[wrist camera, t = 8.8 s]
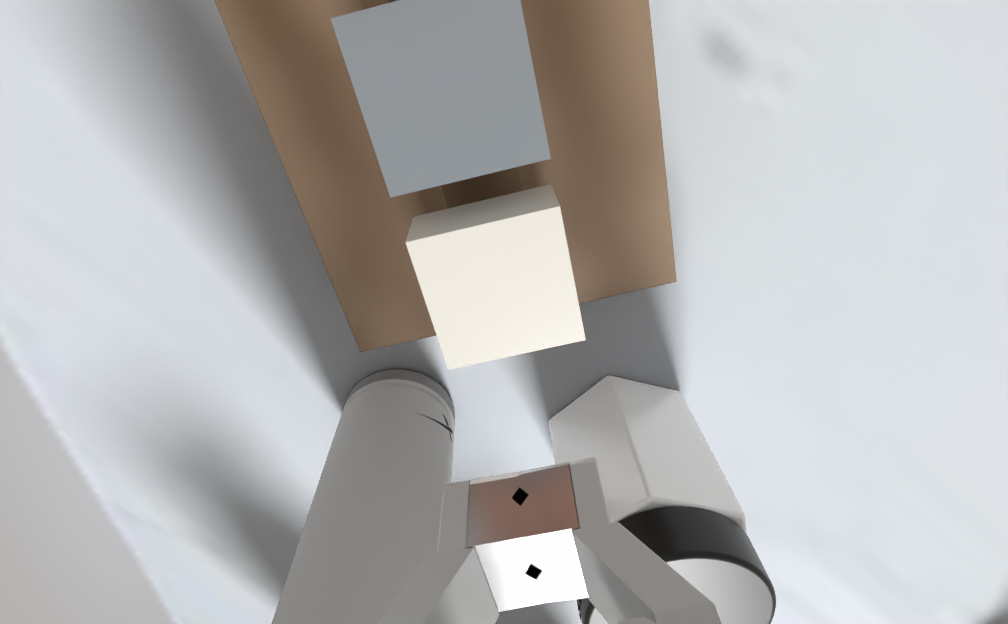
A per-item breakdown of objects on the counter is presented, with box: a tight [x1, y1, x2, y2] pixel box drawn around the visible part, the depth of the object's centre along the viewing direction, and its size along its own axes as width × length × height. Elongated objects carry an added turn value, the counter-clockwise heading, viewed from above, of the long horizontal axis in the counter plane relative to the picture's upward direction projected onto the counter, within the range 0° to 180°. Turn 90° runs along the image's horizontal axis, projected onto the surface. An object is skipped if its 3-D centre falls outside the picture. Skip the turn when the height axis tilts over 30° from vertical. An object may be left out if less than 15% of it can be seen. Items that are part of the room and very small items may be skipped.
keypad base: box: [215, 0, 676, 352], centre depth 23 cm, size 14×20×5 cm
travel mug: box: [272, 369, 455, 624], centre depth 24 cm, size 6×7×20 cm
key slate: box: [331, 0, 551, 198], centre depth 20 cm, size 5×5×8 cm
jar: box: [549, 376, 776, 624], centre depth 29 cm, size 9×8×12 cm
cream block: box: [405, 184, 586, 370], centre depth 23 cm, size 5×5×8 cm
